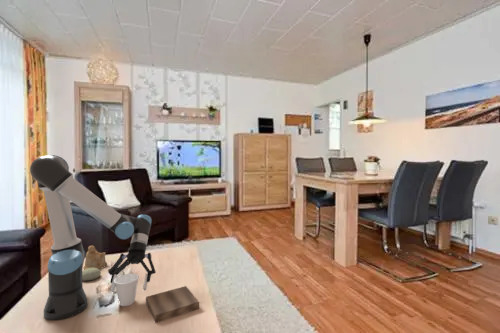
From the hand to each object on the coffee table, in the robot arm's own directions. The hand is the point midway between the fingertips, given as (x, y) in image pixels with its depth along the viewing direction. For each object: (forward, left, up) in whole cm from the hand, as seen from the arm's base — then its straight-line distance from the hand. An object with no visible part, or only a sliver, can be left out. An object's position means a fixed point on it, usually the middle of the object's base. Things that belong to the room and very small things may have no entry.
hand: (128, 290), depth 117 cm
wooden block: (+15, -12, -6) cm, 21 cm away
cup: (-1, +1, -6) cm, 6 cm away
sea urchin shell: (-13, +37, -6) cm, 39 cm away
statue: (-10, +51, -6) cm, 52 cm away
